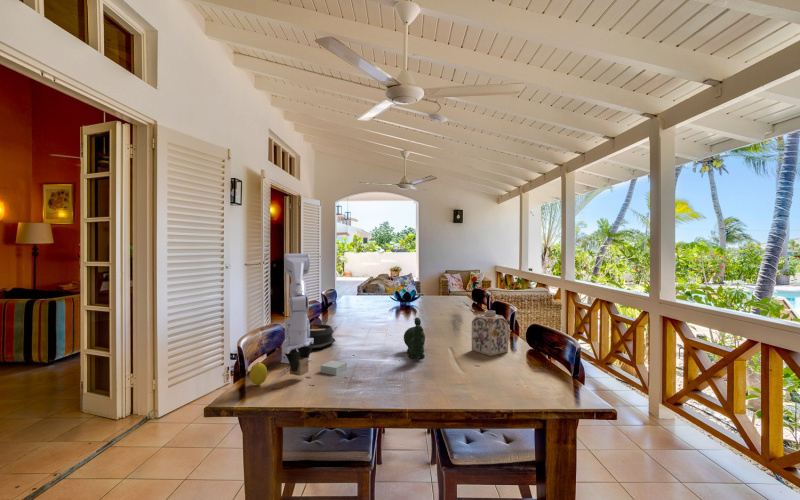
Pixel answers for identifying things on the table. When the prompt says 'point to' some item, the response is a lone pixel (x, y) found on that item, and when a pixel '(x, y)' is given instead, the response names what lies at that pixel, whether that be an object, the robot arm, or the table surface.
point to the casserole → (321, 335)
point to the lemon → (258, 373)
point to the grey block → (333, 367)
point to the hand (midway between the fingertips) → (299, 368)
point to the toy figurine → (415, 340)
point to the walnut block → (301, 367)
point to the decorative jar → (490, 334)
